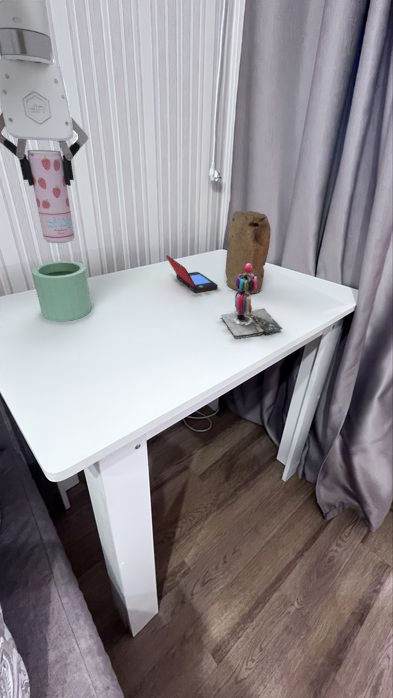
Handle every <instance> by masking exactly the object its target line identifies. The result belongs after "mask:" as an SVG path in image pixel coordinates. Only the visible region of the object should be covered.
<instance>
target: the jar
mask: <svg viewBox="0 0 393 698" xmlns="http://www.w3.org/2000/svg"><path fill="white" fill-rule="evenodd" d="M31 273H32V278H33V282H34V286H35V287H34V288H35V291H36V295H37V300H38V304H39V308H40V312H41V315H42V317H43V318H44V319H46V320H49V321H52V322H69V321H75V320H78V319H82V318H84V317H86V316H87V315H89V314H90V312H91V311H92V304H91V295H90V290H89V289H90V288H89V281H88V276H87V275H88V274H87V268H86V265H84V264H82V263H81V262H77V261H71V260H56V261H50V262H45V263H42V264H38V265H36V266H35V267H34V268H33V269H32V270H31Z"/></svg>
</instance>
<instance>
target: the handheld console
mask: <svg viewBox="0 0 393 698" xmlns="http://www.w3.org/2000/svg"><path fill="white" fill-rule="evenodd" d="M165 257H166V259H167V261H168V262H169V264H170V266H171V267H172V269H173V271H174V273H175V275H176V276H175V277H176V279H177V280H179V282H181V283H182V284H184V285H186V286H187V287H188V288H189V289H190V290H191V291H192V292H194V293H199V292H206V291H211V290H216V289H218V287H219V285H218V284H217V283H216V282H215V281H213V280H211V279H210V278H208V277H207V276H205V275H204V274H203V273H201V272H200V271H192V272H188V270H187V268H186V267H185V266H183V265H182V264H181V263H179V262H177V260H175V259H174V258H172V257H170V256H169V255H166V256H165Z"/></svg>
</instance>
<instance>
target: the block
mask: <svg viewBox="0 0 393 698" xmlns="http://www.w3.org/2000/svg"><path fill="white" fill-rule="evenodd" d="M271 231H272V230H271V224H270V221H269V219H268V216H267V215H266V214H265V213H261V212H259V211H252V210H248V211H247V210H246V211H245V210H236V211H233V213H232V215H231V219H230V225H229V233H228V239H227V247H226V256H225V257H226V258H225V259H226V260H225V272H224V273H225V277H226V284H227V286H228V287H229V288H230V289H231V290H234V291H236V292H238V291H240V290H237V287H236V279H237V276H238V275H240V274H242V275H243V274H244V273H246V271H245V266H246V264H248V263H250V264H251V265H252V271H251V273H250V274H253V275H254V276H255V275H256V276H257V277H258V280H257V289H256V290H253V291H251V292H250V294H256V293H258V292H260V291H261V290H262V287H263V283H264V276H265V268H264V267H265V265H266V263H267V259H268V254H269V250H270V244H271V243H270V242H271V236H272V235H271V234H272V233H271Z"/></svg>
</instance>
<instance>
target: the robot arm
mask: <svg viewBox="0 0 393 698" xmlns="http://www.w3.org/2000/svg"><path fill="white" fill-rule="evenodd" d="M47 8H48V7H47V2H46V0H0V107H1V111H2V112H1V113H0V144H1V145H2V146H4V147H5V148H6V149H7V150H8V151H9V152H10V153H11V154H12V155H14V156H15V157H17V159H18V161H19V165H20V170H21V175H22V179H23V181H27V182H28V186H30V187H33V181H32V176H31V171H30V165H29V160H28V155H27V154H26V147H27V146H26V145H27V141H28V140H31V141H54V142H57V144H58V146H59V148H60V150H61V151H60V152H61V154H63V155H62V158H63V166H64V173H65V179H66V185H67V187H68V186H69V187H70V186H72V181H74V171H73V163H72V160H73V159H74V157H76V155H77V153H78V152H79V151H80V149H81V148H82V147H83V146H84V145H85V144H86V143H87V142H88V140H89V136H88V134H87V133H86V131H84V129H83V128H82V127H81V126H80V125H79V124H78V123H77V122H76V121H75V120H74V118H73V117H72V113H71V107H70V101H69V97H68V91H67V85H66V83H65V79H64V75H63V72H62V68H61V66H59V65H57V64H55V57H54V56H55V55H54V51H53V50H54V49H53V43H52V37H51V30H50V22H49V15H48V9H47ZM4 130H6V132H7V133H8V135H9V136H10V137H12V138H14V139H17V144H15V143H13V142H12V140H10V139H9V138H7V136H5V134H3V131H4ZM74 134H75V136H76V139H75V140H74V142H72V143H71V144H70V146H69V145H68V142H67V141H69V140H72V138H73V137H74Z"/></svg>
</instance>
